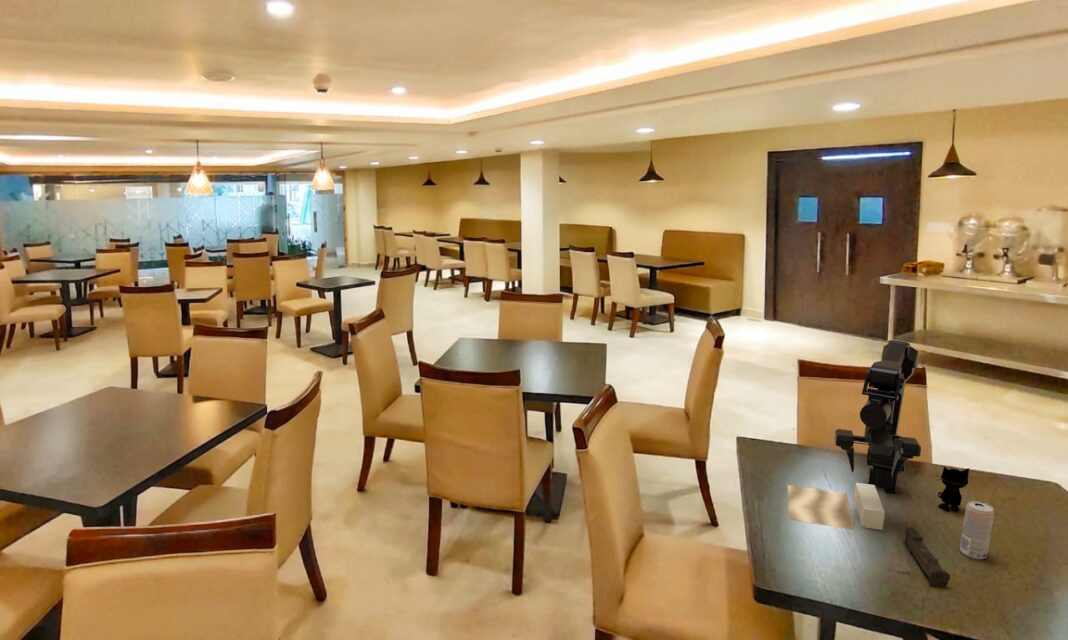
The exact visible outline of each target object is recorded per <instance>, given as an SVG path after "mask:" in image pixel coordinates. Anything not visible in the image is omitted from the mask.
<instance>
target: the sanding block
mask: <svg viewBox="0 0 1068 640" xmlns="http://www.w3.org/2000/svg"><path fill="white" fill-rule="evenodd" d="M853 501H854V504H855V507H856V511H857V515H858V518H859V521H860V524H861V527H862V528H865V529H866V528H868V529H874V530H880V531H881V530H882V531H883V528H884V521H885V514H886V513H885V509H884V507H883V506H884V505H883V504H882V501H881V498H880V496H879V493H878V491H877V488H876V486H875V485H871V484H868V483H862V482H855V487H854V496H853Z"/></svg>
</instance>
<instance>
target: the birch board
mask: <svg viewBox="0 0 1068 640" xmlns="http://www.w3.org/2000/svg"><path fill="white" fill-rule="evenodd" d="M787 503H788V509H787V510H788V520H792V521H797V522H803V523H809V524H816V525H821V526H828V527H834V528H838V529H847V530H852V531H855V527H854V521H853V517H852V516H853V515H852V511H851V508H850V502H849V497H848V494H847V493H844V492H839V491H830V490H825V489H818V488H812V487H811V488H810V487H804V486H798V485H792V484H791V485H790V484H787Z"/></svg>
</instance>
